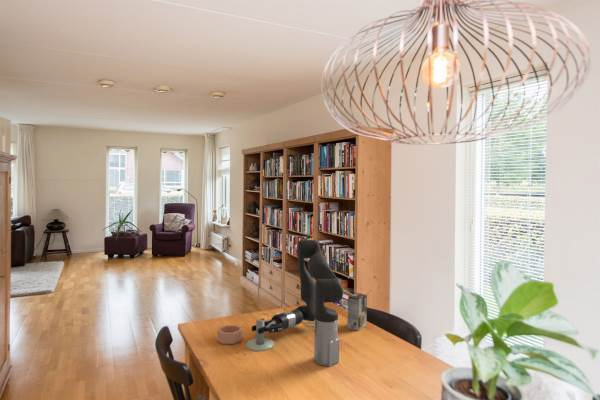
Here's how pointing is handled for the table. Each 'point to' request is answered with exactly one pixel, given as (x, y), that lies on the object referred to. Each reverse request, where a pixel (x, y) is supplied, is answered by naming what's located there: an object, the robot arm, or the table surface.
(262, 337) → the peg on round base
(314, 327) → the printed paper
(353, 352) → the table surface
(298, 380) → the table surface
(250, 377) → the table surface
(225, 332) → the bowl
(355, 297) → the coffee box
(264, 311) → the table surface
